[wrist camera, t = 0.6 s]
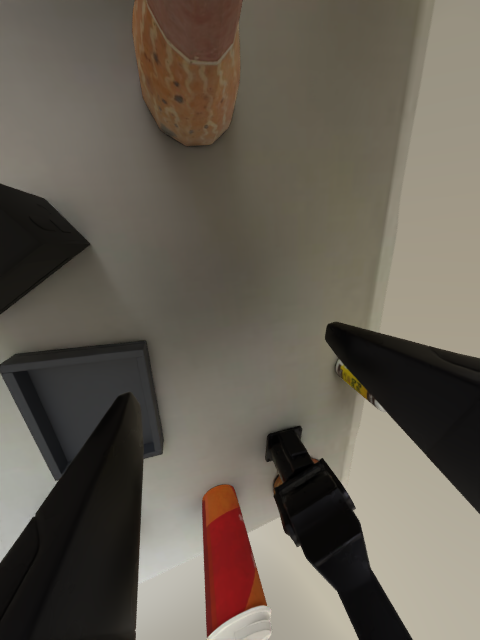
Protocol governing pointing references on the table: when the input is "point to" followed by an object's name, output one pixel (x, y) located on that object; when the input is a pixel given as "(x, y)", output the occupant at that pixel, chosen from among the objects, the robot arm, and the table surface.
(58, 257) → the digital camera
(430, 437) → the robot arm
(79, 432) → the tray
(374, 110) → the table surface
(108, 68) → the table surface
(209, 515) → the coffee cup
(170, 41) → the vase
